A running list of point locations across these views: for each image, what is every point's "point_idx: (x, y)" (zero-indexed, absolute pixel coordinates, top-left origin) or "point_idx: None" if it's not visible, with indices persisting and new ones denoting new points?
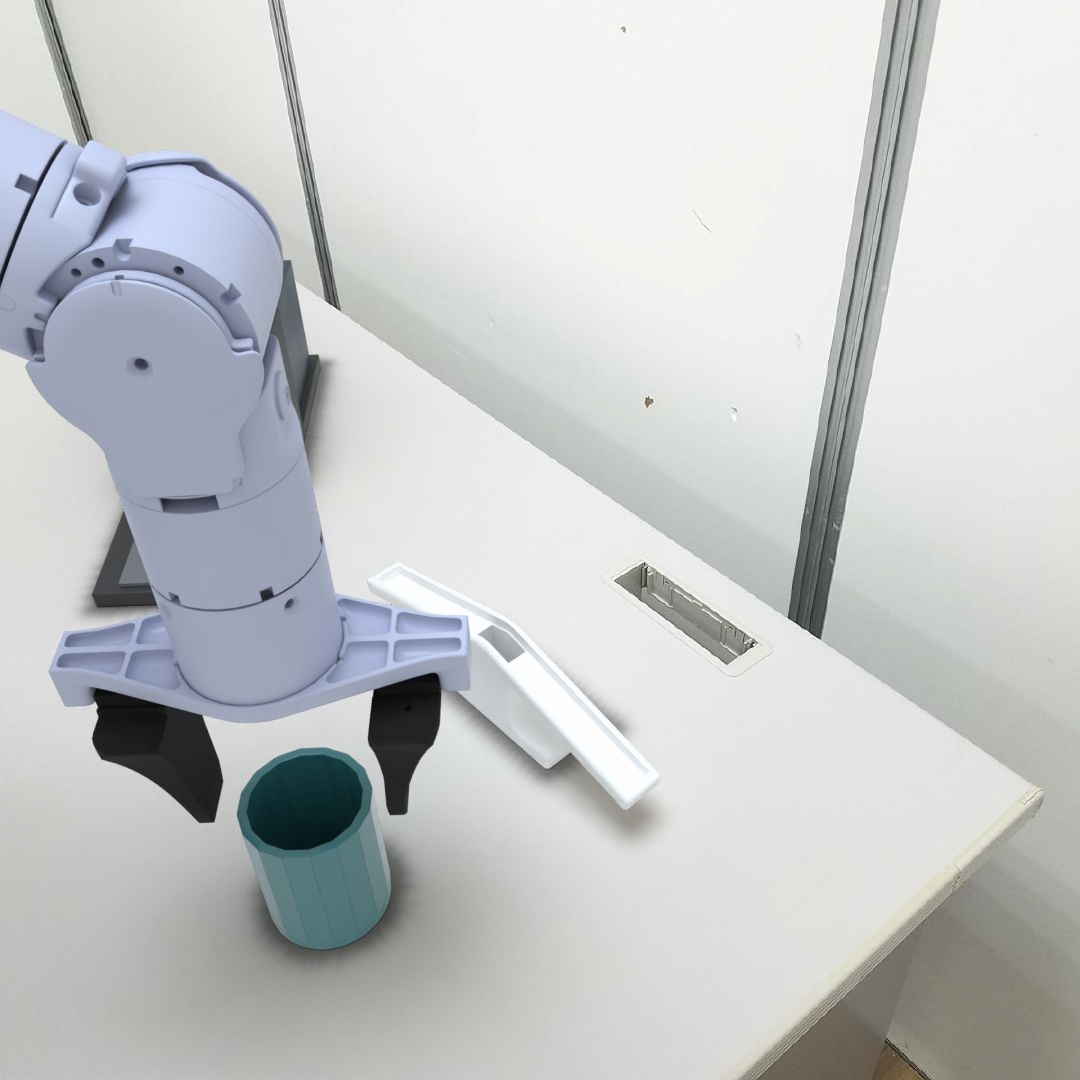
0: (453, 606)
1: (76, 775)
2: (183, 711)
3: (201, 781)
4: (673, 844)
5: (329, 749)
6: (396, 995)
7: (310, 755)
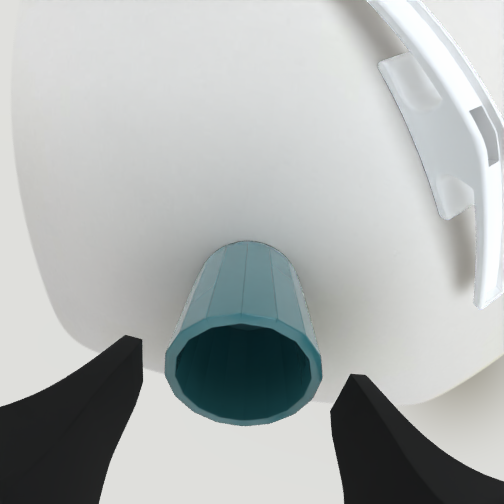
0: (438, 43)
1: (46, 127)
2: (75, 489)
3: (120, 415)
4: None
5: (282, 325)
6: None
7: (254, 325)
